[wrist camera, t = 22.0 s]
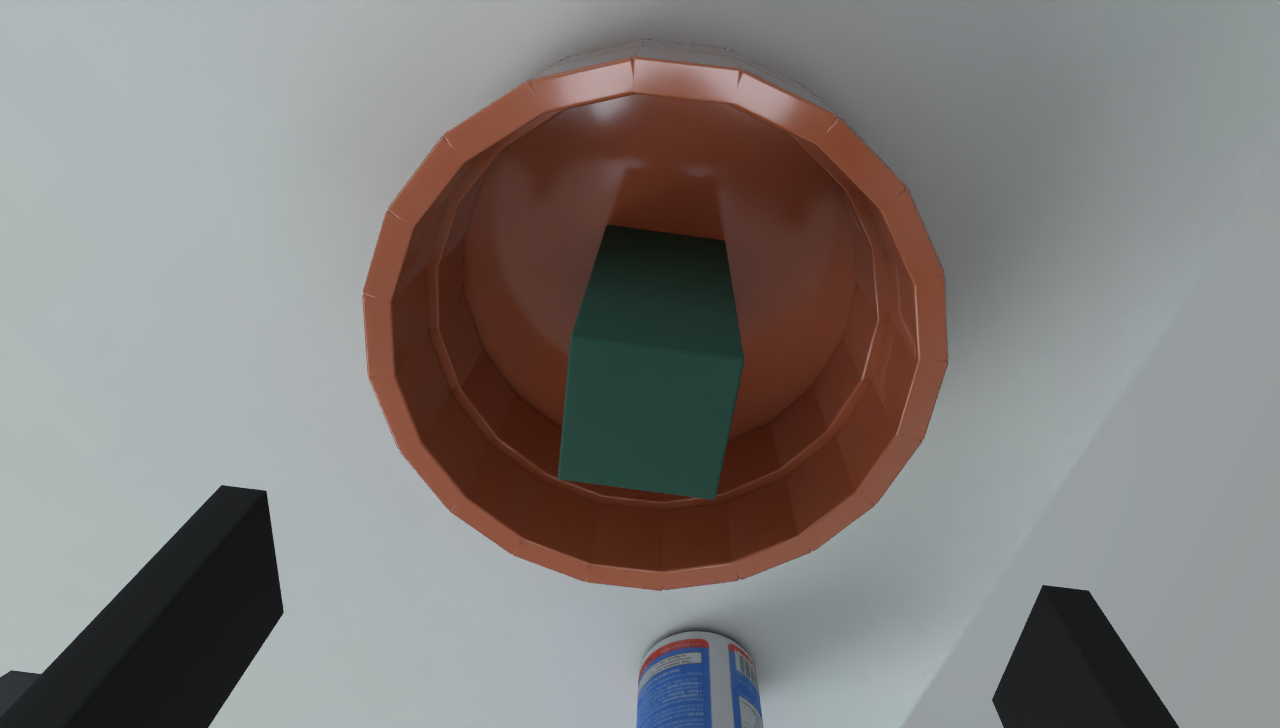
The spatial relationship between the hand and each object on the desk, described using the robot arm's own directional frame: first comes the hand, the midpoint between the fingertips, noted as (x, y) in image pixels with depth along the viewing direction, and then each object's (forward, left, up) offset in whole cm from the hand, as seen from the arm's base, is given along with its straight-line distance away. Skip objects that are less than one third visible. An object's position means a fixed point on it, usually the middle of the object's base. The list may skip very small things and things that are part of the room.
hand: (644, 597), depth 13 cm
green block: (0, 0, -15) cm, 15 cm away
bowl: (0, 0, -15) cm, 15 cm away
